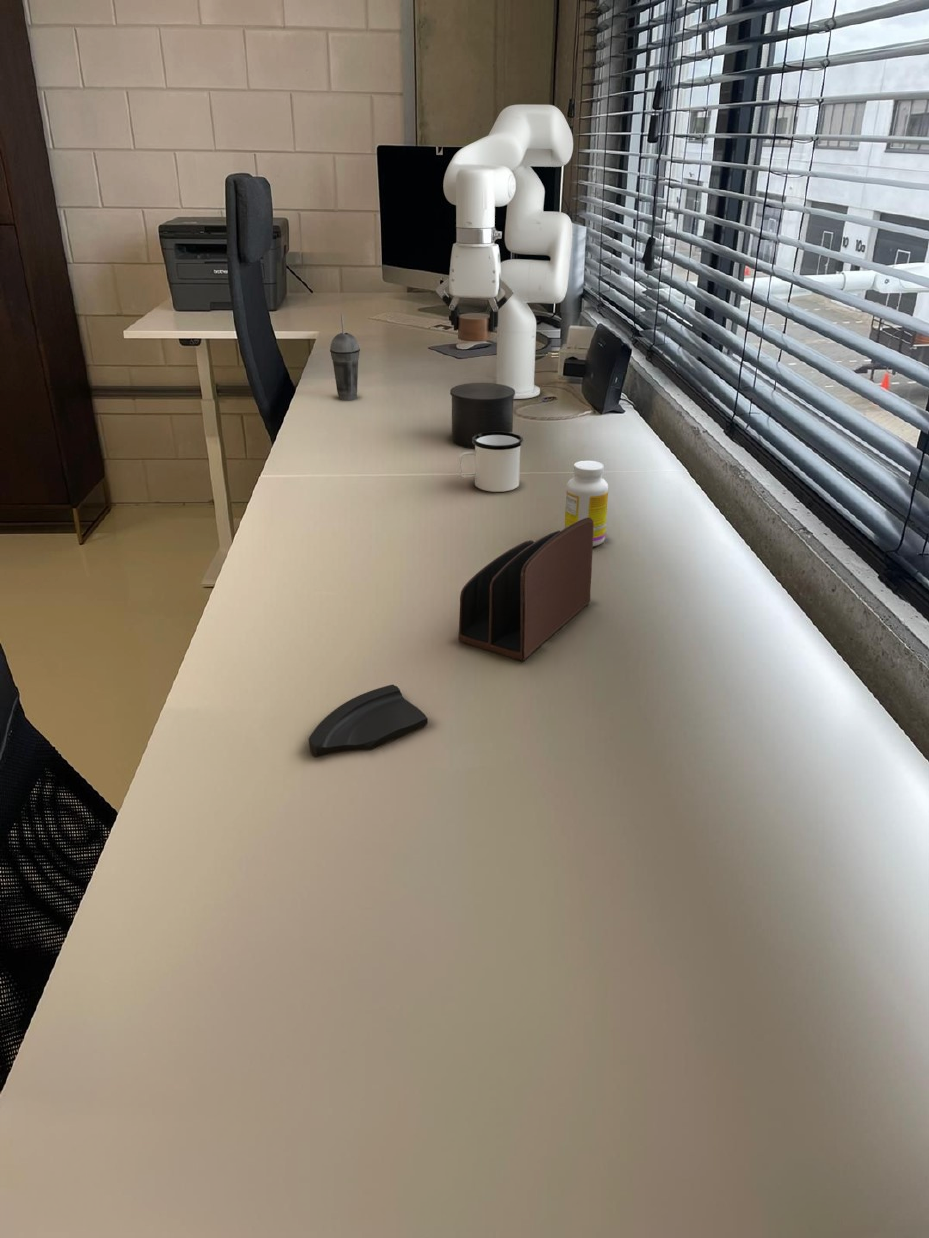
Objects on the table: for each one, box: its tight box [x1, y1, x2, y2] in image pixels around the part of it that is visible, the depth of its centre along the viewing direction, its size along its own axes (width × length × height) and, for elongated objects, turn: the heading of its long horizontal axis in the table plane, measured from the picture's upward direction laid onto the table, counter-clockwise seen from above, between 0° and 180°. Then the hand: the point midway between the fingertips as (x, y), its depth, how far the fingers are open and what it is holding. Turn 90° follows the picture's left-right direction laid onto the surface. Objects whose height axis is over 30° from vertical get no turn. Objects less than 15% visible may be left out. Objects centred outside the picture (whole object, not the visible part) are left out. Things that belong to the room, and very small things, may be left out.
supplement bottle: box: [564, 460, 609, 547], centre depth 152 cm, size 7×7×13 cm
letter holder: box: [458, 517, 594, 662], centre depth 126 cm, size 10×20×14 cm, turn 148°
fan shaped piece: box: [308, 684, 429, 758], centre depth 106 cm, size 8×14×2 cm, turn 125°
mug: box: [458, 431, 524, 493], centre depth 176 cm, size 12×10×9 cm
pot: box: [449, 382, 515, 450], centre depth 200 cm, size 14×14×11 cm
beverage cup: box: [329, 314, 361, 401], centre depth 228 cm, size 7×7×20 cm
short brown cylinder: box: [457, 312, 492, 342], centre depth 194 cm, size 7×7×4 cm
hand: (474, 329), depth 194 cm, fingers closed on short brown cylinder, 6 cm apart
